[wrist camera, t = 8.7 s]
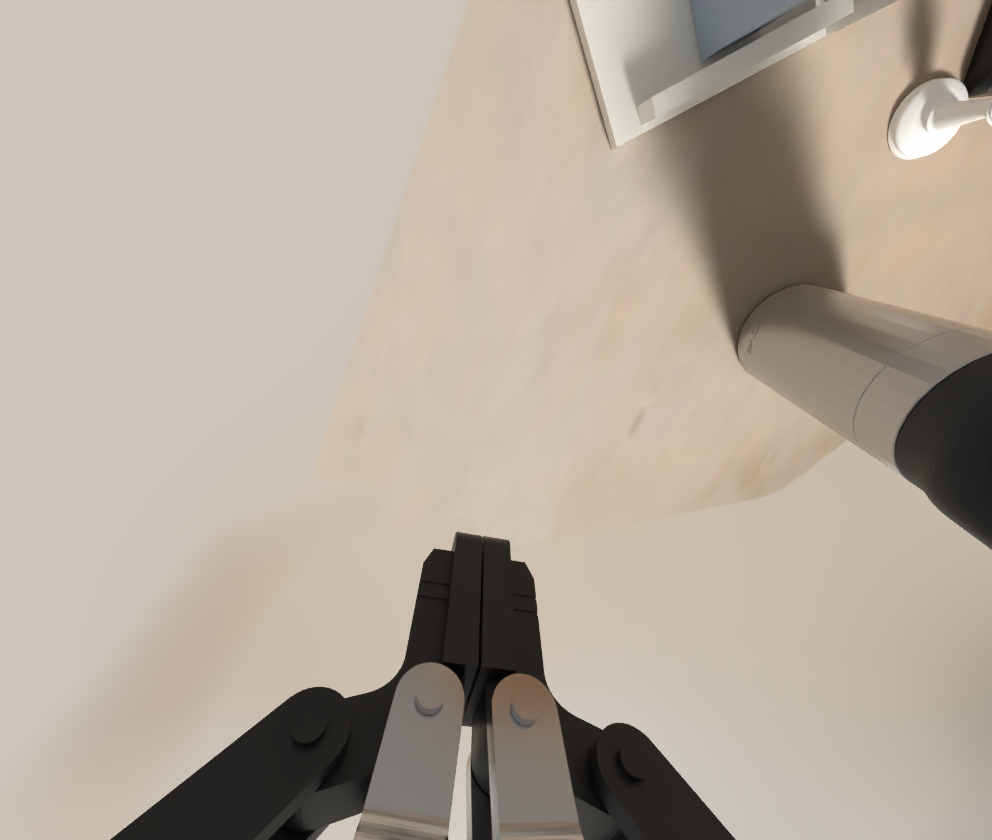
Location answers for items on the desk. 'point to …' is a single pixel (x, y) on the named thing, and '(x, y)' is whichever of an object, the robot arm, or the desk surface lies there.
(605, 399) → the desk surface
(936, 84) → the chess piece
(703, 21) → the block
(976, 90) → the multiport hub
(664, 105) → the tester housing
